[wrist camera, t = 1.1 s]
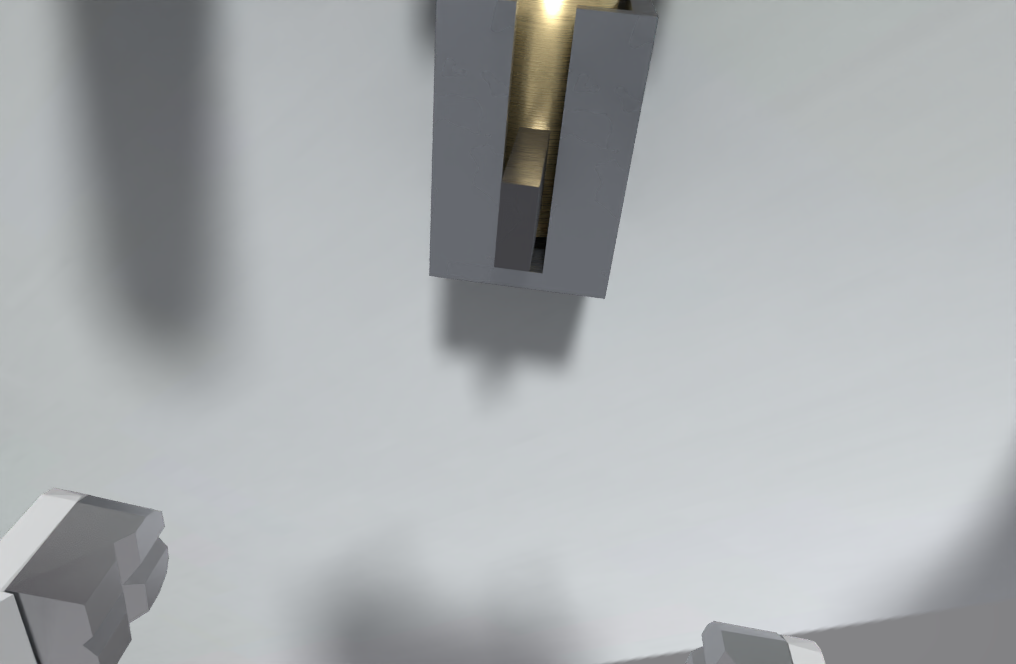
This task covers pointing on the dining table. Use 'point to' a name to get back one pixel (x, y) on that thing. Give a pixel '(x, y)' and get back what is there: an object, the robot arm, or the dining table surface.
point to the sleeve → (581, 155)
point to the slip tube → (535, 125)
